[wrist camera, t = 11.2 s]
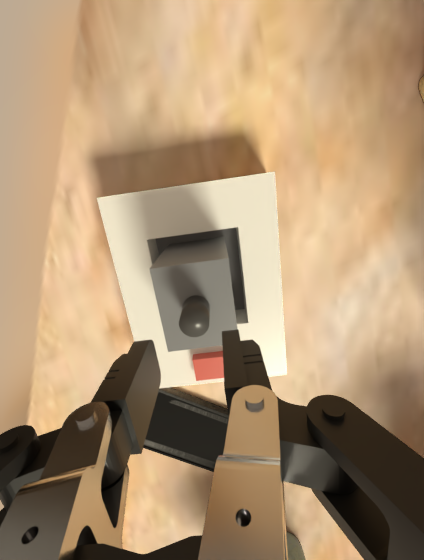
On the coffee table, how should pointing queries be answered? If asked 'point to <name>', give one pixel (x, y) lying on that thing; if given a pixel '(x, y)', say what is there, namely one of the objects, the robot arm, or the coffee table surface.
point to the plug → (194, 293)
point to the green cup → (294, 548)
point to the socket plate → (196, 226)
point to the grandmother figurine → (421, 87)
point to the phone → (187, 428)
